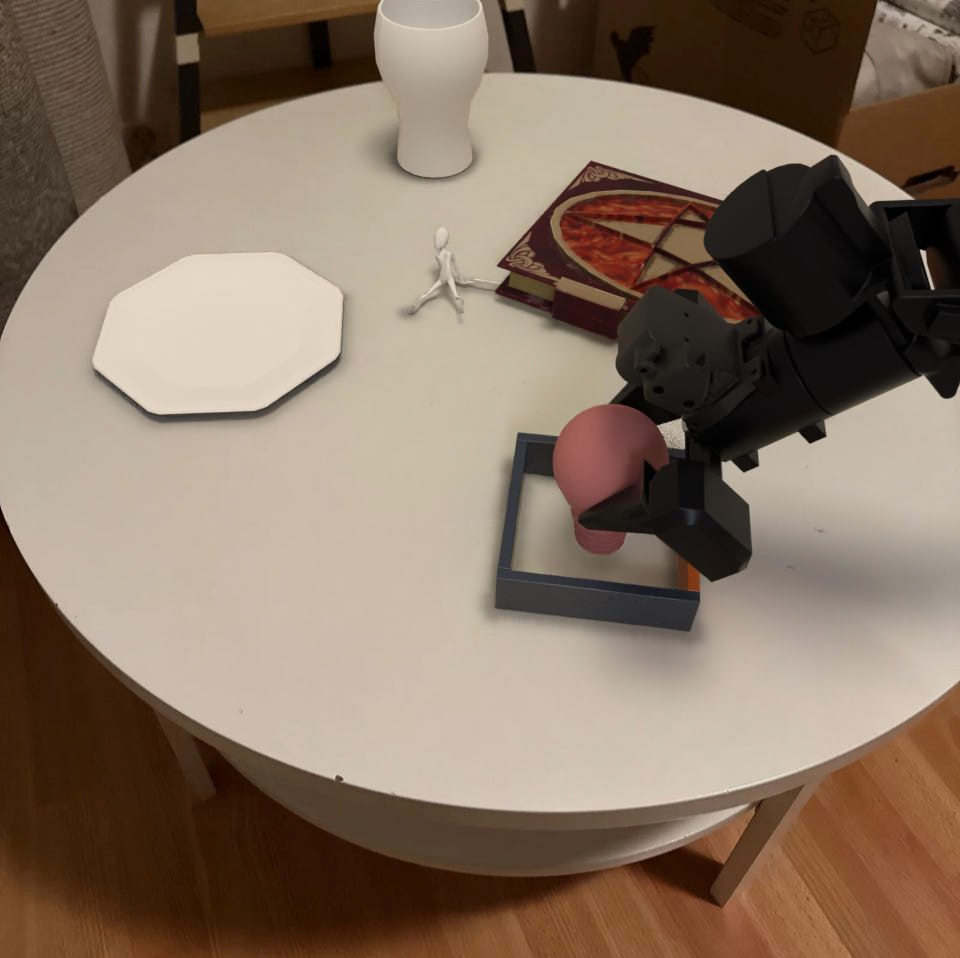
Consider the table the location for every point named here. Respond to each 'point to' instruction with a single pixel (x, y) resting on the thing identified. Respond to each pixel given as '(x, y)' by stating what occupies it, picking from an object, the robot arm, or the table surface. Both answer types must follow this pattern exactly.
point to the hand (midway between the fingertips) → (585, 477)
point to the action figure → (446, 274)
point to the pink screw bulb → (604, 463)
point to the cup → (432, 78)
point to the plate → (220, 334)
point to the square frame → (580, 593)
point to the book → (617, 251)
